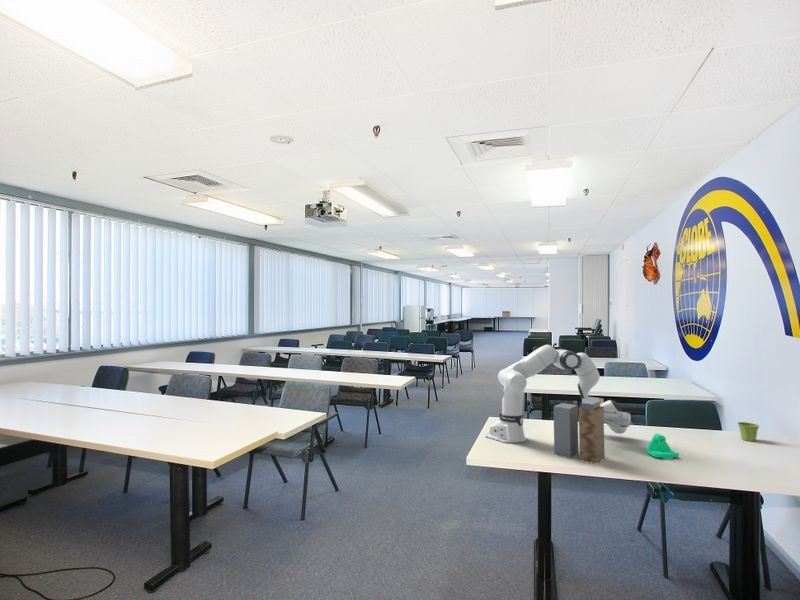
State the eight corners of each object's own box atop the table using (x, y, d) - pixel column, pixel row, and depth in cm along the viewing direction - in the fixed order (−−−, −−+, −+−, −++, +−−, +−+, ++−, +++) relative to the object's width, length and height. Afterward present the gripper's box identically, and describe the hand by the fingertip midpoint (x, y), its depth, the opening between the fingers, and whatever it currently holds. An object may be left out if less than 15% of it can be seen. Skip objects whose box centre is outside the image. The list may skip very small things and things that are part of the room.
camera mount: (656, 459, 205) (655, 438, 205) (646, 454, 212) (645, 433, 213) (680, 459, 205) (679, 437, 206) (669, 453, 213) (668, 433, 213)
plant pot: (753, 438, 237) (753, 422, 238) (763, 443, 228) (763, 427, 229) (734, 437, 240) (734, 421, 240) (743, 442, 231) (743, 425, 231)
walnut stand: (579, 460, 205) (578, 408, 205) (587, 454, 213) (586, 404, 213) (597, 463, 199) (596, 410, 200) (604, 457, 207) (603, 406, 208)
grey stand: (554, 454, 213) (553, 406, 214) (562, 448, 221) (562, 402, 222) (570, 457, 208) (569, 408, 208) (578, 452, 216) (577, 405, 216)
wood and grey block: (580, 408, 205) (580, 399, 205) (594, 401, 219) (594, 393, 219) (593, 410, 201) (593, 400, 201) (606, 403, 215) (606, 394, 215)
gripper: (593, 410, 240) (586, 401, 231) (633, 416, 226) (627, 407, 217) (592, 421, 237) (584, 412, 229) (632, 427, 224) (625, 418, 215)
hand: (605, 409), depth 223 cm, fingers open, 8 cm apart
